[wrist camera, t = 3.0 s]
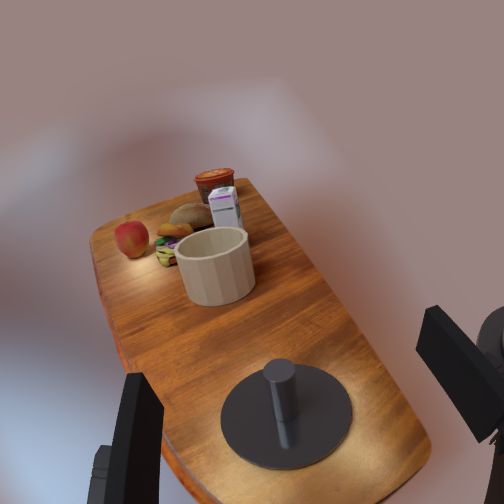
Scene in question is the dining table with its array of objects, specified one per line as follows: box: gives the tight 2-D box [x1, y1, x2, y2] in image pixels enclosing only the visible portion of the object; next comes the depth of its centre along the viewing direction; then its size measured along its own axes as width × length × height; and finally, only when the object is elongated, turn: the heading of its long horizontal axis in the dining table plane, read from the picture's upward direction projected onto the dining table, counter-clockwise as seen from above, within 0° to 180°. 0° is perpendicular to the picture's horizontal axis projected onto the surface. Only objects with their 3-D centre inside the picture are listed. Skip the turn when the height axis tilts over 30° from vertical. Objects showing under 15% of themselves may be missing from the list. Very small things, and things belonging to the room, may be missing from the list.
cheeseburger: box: [155, 223, 194, 267], centre depth 71 cm, size 10×11×10 cm
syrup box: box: [208, 186, 244, 230], centre depth 69 cm, size 6×6×14 cm
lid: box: [221, 359, 351, 470], centre depth 27 cm, size 15×15×9 cm
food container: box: [194, 168, 234, 204], centre depth 114 cm, size 16×16×11 cm
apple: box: [115, 221, 149, 258], centre depth 75 cm, size 10×10×10 cm
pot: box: [173, 227, 256, 306], centre depth 55 cm, size 14×14×10 cm
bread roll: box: [169, 203, 214, 229], centre depth 87 cm, size 10×15×8 cm, turn 108°
